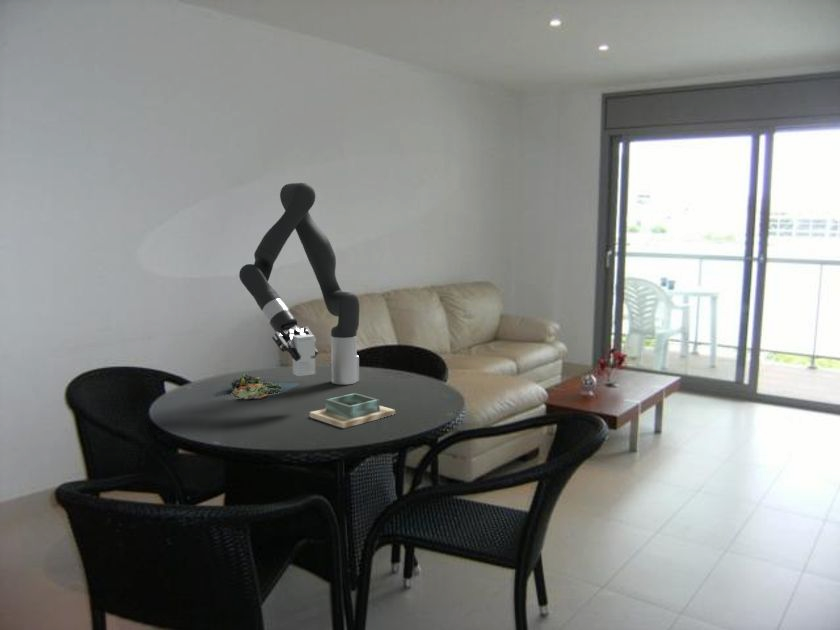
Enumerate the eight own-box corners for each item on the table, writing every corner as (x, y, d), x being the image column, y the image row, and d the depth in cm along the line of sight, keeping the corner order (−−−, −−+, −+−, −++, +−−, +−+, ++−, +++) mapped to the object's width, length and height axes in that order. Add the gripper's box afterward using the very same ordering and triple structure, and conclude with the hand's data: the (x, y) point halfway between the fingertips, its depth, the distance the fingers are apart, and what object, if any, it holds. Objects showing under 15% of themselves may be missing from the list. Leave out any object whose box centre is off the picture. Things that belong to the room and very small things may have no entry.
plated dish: (270, 409, 210) (270, 386, 209) (190, 404, 215) (189, 382, 215) (311, 384, 244) (311, 365, 243) (241, 382, 249) (240, 362, 249)
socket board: (360, 404, 213) (360, 389, 212) (395, 414, 202) (395, 398, 201) (309, 417, 198) (309, 400, 198) (343, 428, 187) (343, 411, 187)
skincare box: (297, 376, 202) (296, 337, 200) (292, 373, 206) (291, 335, 204) (316, 374, 205) (315, 335, 204) (310, 371, 209) (309, 333, 207)
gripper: (267, 311, 201) (296, 353, 196) (301, 306, 213) (329, 346, 208) (256, 327, 205) (284, 369, 200) (290, 321, 217) (317, 360, 212)
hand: (307, 357), depth 204 cm, fingers closed on skincare box, 7 cm apart
